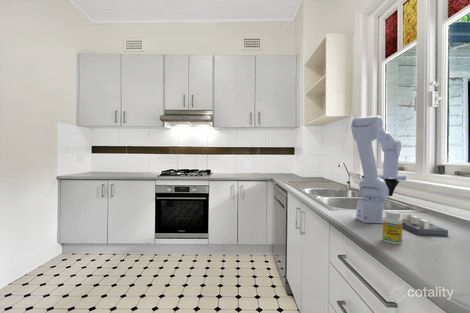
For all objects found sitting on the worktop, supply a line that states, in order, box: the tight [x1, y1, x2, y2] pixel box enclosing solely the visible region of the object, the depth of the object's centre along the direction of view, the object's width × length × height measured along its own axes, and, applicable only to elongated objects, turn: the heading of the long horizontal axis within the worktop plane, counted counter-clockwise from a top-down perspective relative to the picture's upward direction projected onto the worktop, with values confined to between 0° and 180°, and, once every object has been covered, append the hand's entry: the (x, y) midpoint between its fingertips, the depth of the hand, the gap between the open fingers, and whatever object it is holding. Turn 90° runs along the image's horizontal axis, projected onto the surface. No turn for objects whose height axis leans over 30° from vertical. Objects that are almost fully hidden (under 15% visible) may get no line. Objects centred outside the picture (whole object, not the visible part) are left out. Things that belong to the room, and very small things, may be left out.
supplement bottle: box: [382, 210, 403, 245], centre depth 82 cm, size 5×5×10 cm
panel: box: [401, 212, 449, 237], centre depth 96 cm, size 10×13×5 cm
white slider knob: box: [411, 215, 421, 224], centre depth 96 cm, size 2×2×2 cm, turn 177°
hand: (389, 195), depth 116 cm, fingers closed
